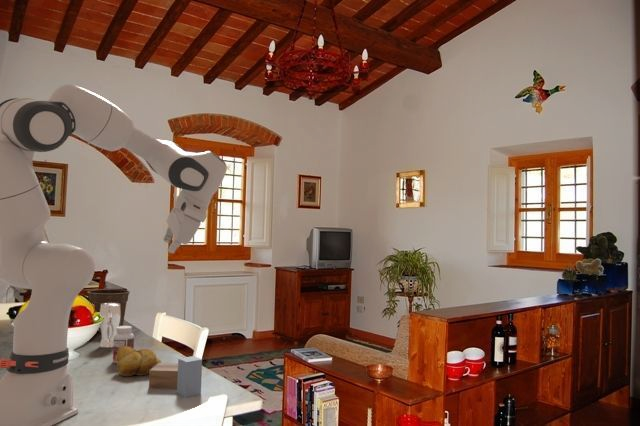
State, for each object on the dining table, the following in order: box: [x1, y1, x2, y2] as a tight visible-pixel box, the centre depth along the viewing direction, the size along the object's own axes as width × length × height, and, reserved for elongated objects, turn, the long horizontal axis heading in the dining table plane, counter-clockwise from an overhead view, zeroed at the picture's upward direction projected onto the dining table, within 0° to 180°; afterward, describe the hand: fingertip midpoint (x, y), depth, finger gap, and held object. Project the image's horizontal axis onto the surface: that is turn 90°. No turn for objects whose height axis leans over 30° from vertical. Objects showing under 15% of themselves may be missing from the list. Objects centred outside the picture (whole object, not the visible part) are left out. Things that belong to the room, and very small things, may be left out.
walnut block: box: [148, 362, 178, 390], centre depth 144 cm, size 8×8×5 cm
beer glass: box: [99, 303, 120, 349], centre depth 187 cm, size 7×7×15 cm
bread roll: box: [116, 345, 163, 377], centre depth 154 cm, size 13×10×8 cm
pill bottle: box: [112, 325, 135, 364], centre depth 166 cm, size 6×6×11 cm
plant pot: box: [87, 288, 131, 334], centre depth 214 cm, size 16×16×16 cm
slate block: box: [176, 355, 203, 398], centre depth 136 cm, size 4×4×9 cm
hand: (167, 246), depth 150 cm, fingers open, 8 cm apart
